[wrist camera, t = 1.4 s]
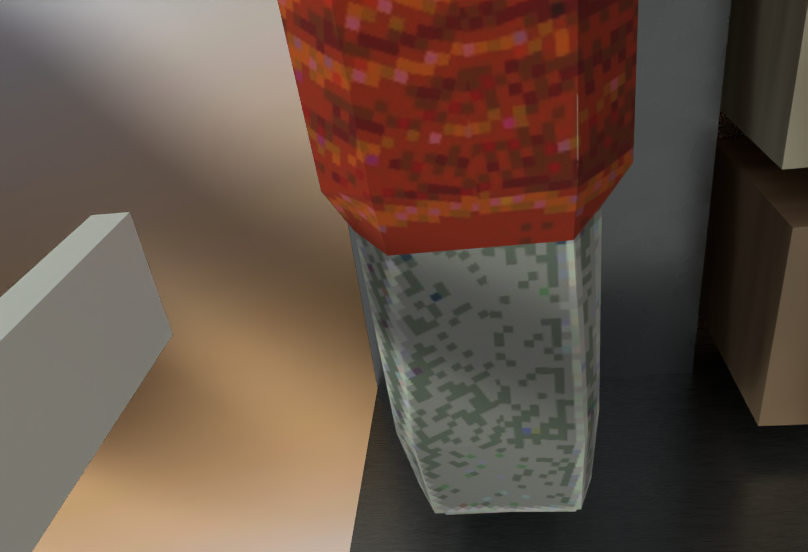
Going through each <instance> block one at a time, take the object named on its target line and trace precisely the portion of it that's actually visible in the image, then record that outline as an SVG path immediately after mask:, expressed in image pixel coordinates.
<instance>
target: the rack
mask: <svg viewBox="0 0 808 552" xmlns="http://www.w3.org/2000/svg"><path fill="white" fill-rule="evenodd" d="M730 10H731V0H639V2H638V33H637V64H636V95H635V126H634V156H633V164H632V165H631V166H630V168H629V169H628V171H627V172H626V173H625V175H624V176H623V177H622V179H621V180H620V182H619V183H618V184H617V186H616V187H615V188H614V190H613V191H612V193H611V194H610V195H609V197H608V198H607V199H606V201H605V202H604V204H603V205H602V237H601V311H600V385H599V415H598V424H597V432H596V441H595V449H594V458H593V467H592V475H591V480H590V483H589V486H588V489H587V492H586V495H585V499H584V502H583V505H582V508H581V509H577V510H576V512H497V513H476V514H454V515H446V514H445V513H435V512H434V510H433V508H432V507H431V505H430V503H429V501H428V499H427V497H426V496H425V494H424V492H423V490H422V488H421V486H420V485H419V482H418V480H417V478H416V476H415V473H414V471H413V469H412V467H411V464H410V462H409V460H408V457H407V455H406V453H405V451H404V448H403V446H402V444H401V442H400V439H399V437H398V435H397V433H396V428H395V423H394V418H393V414H392V409H391V404H390V399H389V394H388V390H387V385H386V380H385V375H384V370H383V366H382V361H381V356H380V351H379V346H378V342H377V337H376V332H375V327H374V322H373V318H372V313H371V308H370V303H369V298H368V294H367V289H366V284H365V279H364V274H363V270H362V265H361V260H360V255H359V250H358V246H357V241H356V236H355V231H354V230H353V229H352V228H351V226H350V225H349V224H348V228H349V233H350V239H351V244H352V250H353V255H354V261H355V266H356V272H357V277H358V283H359V288H360V294H361V299H362V305H363V310H364V316H365V321H366V327H367V332H368V337H369V343H370V348H371V354H372V359H373V365H374V370H375V376H376V381H377V387H378V389H377V395H376V401H375V406H374V412H373V418H372V424H371V430H370V436H369V442H368V448H367V454H366V459H365V465H364V471H363V477H362V483H361V489H360V495H359V501H358V506H357V512H356V518H355V524H354V530H353V536H352V542H351V548H350V552H808V424H802V425H776V426H758V425H757V423H756V421H755V419H754V417H753V415H752V413H751V411H750V409H749V407H748V405H747V403H746V402H745V400H744V398H743V396H742V394H741V392H740V390H739V388H738V386H737V384H736V382H735V381H734V379H733V377H732V375H731V373H730V371H729V369H728V367H727V365H726V363H725V361H724V359H723V358H722V356H721V354H720V352H719V350H718V348H717V346H716V344H715V342H714V340H713V338H712V336H711V335H710V333H709V331H708V329H706V330H697V323H698V313H699V304H700V294H701V285H702V275H703V266H704V256H705V247H706V237H707V228H708V218H709V209H710V199H711V190H712V180H713V171H714V161H715V152H716V143H717V133H718V124H719V114H720V105H721V95H722V86H723V76H724V67H725V57H726V48H727V38H728V29H729V19H730Z"/></svg>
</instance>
